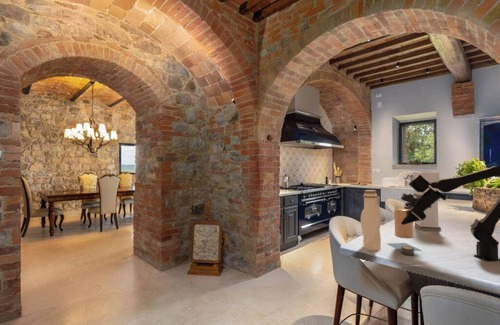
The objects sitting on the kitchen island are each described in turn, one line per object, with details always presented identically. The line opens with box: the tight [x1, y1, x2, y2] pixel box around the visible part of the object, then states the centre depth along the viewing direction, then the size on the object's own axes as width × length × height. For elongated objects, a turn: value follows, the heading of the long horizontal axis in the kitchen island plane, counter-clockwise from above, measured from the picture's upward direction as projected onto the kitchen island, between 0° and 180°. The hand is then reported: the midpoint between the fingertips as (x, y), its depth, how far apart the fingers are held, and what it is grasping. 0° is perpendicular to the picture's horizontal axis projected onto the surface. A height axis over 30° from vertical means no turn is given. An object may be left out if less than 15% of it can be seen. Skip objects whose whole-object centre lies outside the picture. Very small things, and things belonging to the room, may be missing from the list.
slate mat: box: [387, 242, 423, 252], centre depth 125 cm, size 12×10×1 cm
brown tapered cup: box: [393, 208, 415, 240], centre depth 124 cm, size 8×8×13 cm
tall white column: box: [412, 171, 442, 232], centre depth 161 cm, size 11×11×35 cm
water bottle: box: [360, 189, 382, 251], centre depth 126 cm, size 10×9×28 cm
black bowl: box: [400, 246, 415, 256], centre depth 115 cm, size 5×5×3 cm
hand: (400, 222), depth 124 cm, fingers closed on brown tapered cup, 8 cm apart
